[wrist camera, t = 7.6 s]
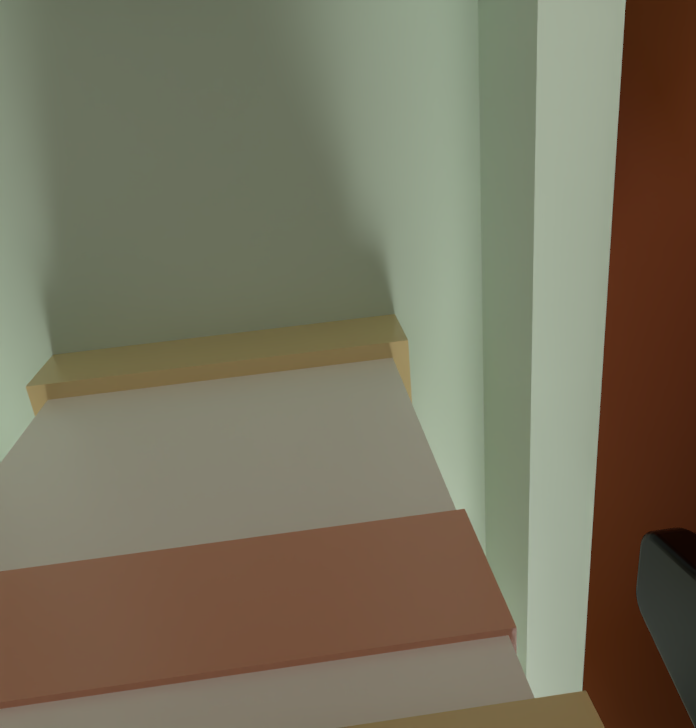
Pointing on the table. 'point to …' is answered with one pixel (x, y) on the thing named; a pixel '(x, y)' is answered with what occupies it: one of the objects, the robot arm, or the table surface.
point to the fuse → (248, 547)
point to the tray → (340, 225)
